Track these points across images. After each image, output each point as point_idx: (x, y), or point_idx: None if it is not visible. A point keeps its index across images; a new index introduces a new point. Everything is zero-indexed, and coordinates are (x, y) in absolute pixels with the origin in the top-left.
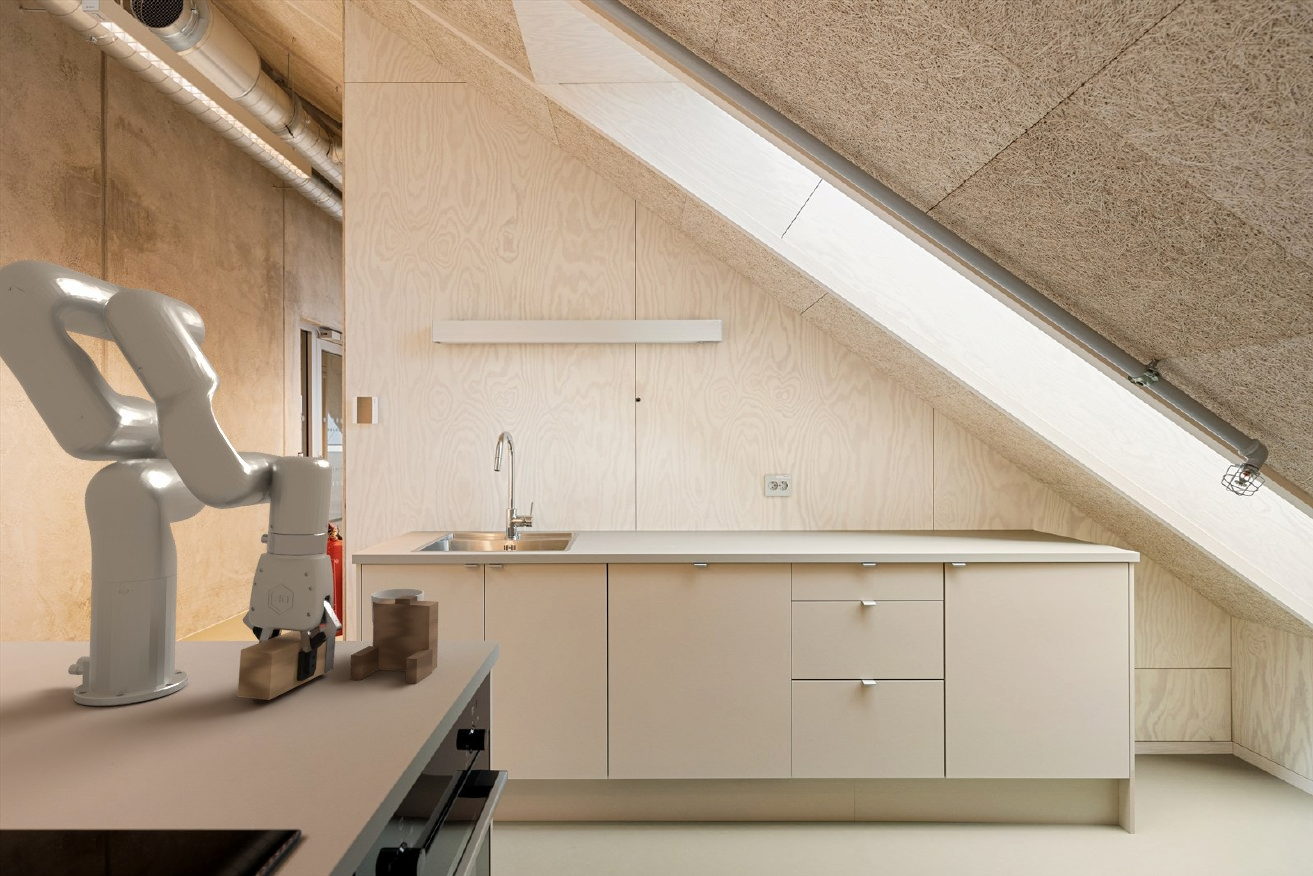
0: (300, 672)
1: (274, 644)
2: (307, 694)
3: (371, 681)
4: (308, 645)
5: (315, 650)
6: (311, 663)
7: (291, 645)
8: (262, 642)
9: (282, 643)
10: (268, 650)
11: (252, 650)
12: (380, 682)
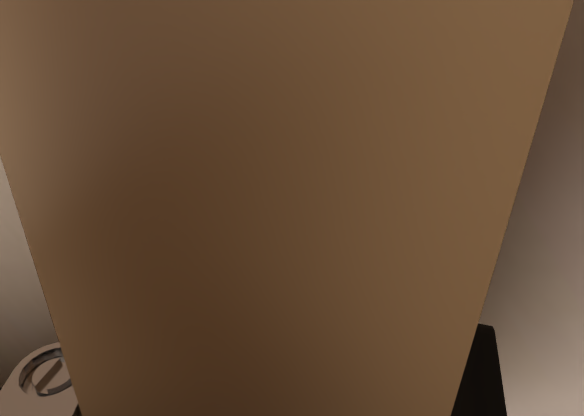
0: None
1: (242, 354)
2: None
3: (48, 329)
4: (38, 396)
5: None
6: None
7: (61, 335)
8: (427, 412)
9: (188, 387)
10: (107, 98)
11: (318, 15)
12: (9, 319)
